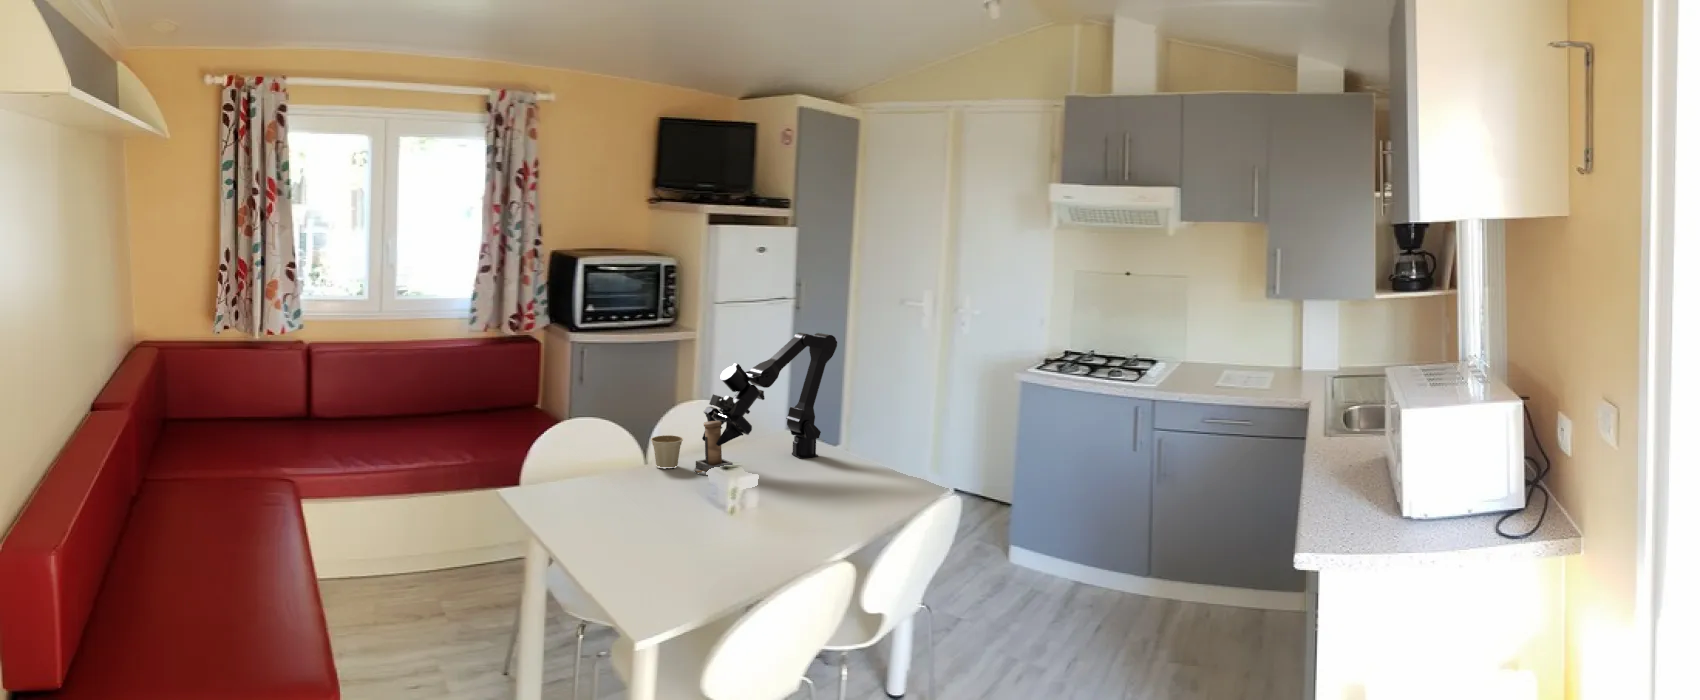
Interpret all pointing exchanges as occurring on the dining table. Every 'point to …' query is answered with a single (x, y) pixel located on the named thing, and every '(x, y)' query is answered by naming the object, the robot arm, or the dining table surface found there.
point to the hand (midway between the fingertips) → (710, 442)
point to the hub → (708, 466)
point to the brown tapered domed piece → (712, 442)
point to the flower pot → (667, 450)
